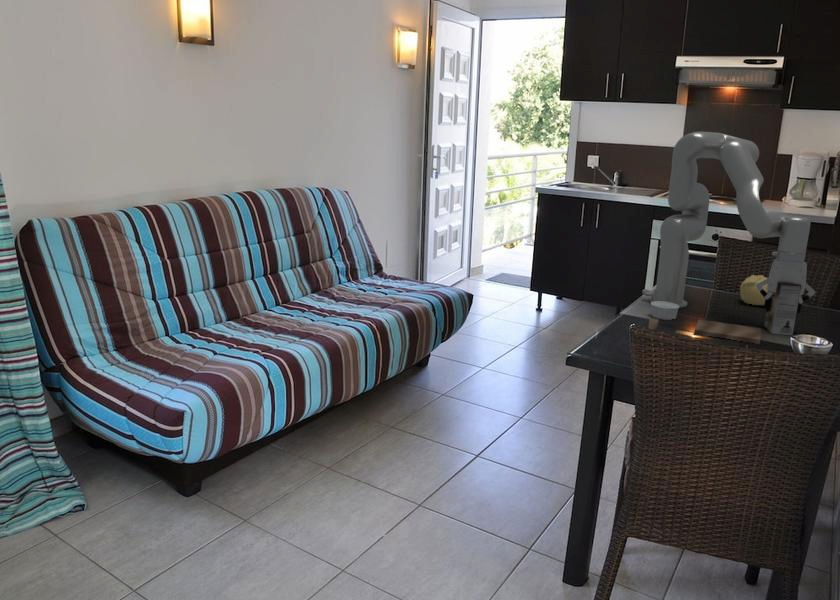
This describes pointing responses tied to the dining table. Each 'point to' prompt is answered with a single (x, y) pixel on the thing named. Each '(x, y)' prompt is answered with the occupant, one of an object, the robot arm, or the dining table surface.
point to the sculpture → (753, 290)
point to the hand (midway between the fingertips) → (781, 312)
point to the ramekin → (664, 310)
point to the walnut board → (728, 331)
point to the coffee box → (783, 308)
